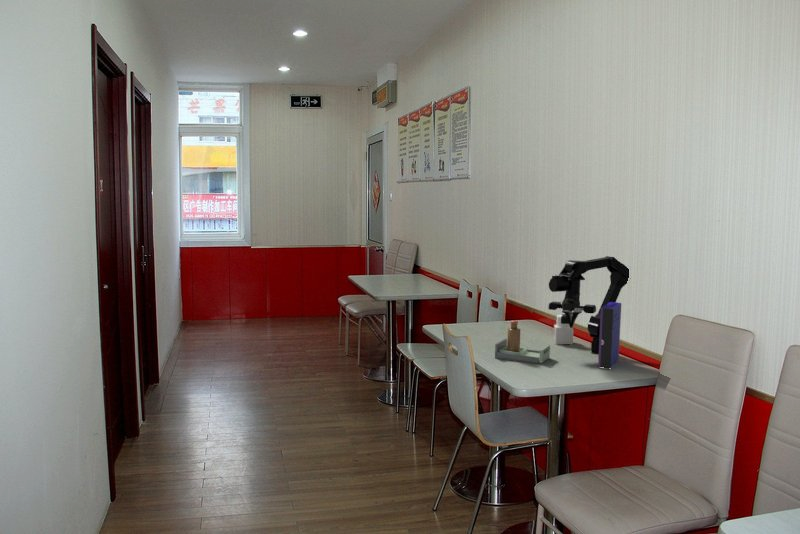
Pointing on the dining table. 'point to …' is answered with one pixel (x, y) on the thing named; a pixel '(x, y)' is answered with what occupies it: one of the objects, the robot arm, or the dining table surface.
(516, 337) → the vinegar bottle
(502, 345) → the dock
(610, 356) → the cereal box
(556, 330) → the container
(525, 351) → the tray
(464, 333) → the dining table surface
